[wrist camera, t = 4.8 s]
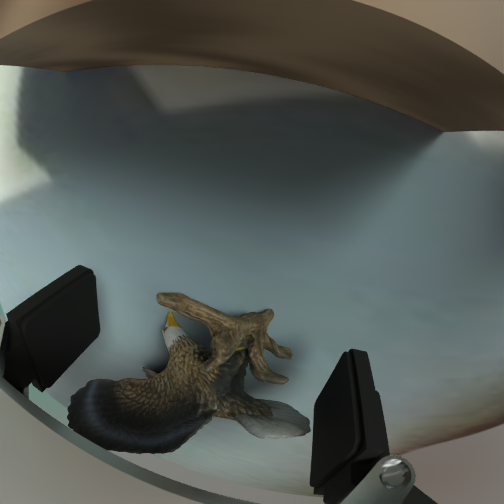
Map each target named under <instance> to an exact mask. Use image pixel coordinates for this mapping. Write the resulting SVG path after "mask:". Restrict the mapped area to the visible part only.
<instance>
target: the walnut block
mask: <svg viewBox="0 0 504 504" xmlns="http://www.w3.org/2000/svg"><path fill="white" fill-rule="evenodd" d="M150 64H162V65H192V66H206V67H218V68H227V69H236V70H243V71H250V72H257V73H263V74H269V75H274V76H279V77H285V78H289V79H294V80H299V81H303V82H307V83H311V84H315V85H319V86H323V87H327V88H330V89H334V90H338V91H341V92H344V93H348V94H351V95H354V96H357V97H360V98H363V99H366V100H369V101H372V102H375V103H378V104H380V105H383V106H386V107H388V108H391V109H394V110H396V111H399V112H401V113H404V114H406V115H408V116H411V117H413V118H415V119H418V120H420V121H422V122H424V123H427V124H429V125H431V126H433V127H435V128H437V129H439V130H441V131H443V132H456V131H504V0H0V65H10V66H23V67H33V68H41V69H49V70H56V71H63V72H65V71H72V70H79V69H87V68H96V67H107V66H121V65H150Z"/></svg>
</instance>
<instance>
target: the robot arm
mask: <svg viewBox="0 0 504 504" xmlns="http://www.w3.org/2000/svg"><path fill="white" fill-rule="evenodd" d="M6 315H7V318H8V321H7V322H6V323H5V320H4V318H3V317H2V316H1V315H0V504H259V503H253V502H249V501H244V500H240V499H235V498H230V497H227V496H223V495H219V494H215V493H212V492H208V491H205V490H201V489H198V488H195V487H192V486H188V485H186V484H183V483H180V482H177V481H174V480H172V479H169V478H166V477H164V476H161V475H159V474H156V473H154V472H152V471H149V470H147V469H145V468H142V467H140V466H138V465H136V464H133V463H131V462H129V461H127V460H125V459H123V458H121V457H119V456H117V455H115V454H113V453H111V452H109V451H107V450H105V449H103V448H102V447H100V446H98V445H96V444H94V443H93V442H91V441H89V440H87V439H86V438H84V437H82V436H81V435H79V434H78V433H76V432H74V431H73V430H71V429H70V428H68V427H67V426H65V425H63V424H62V423H60V422H59V421H57V420H56V419H54V418H53V417H52V416H50V415H49V414H47V413H46V412H45V411H43V410H42V409H41V408H39V407H38V406H37V405H35V404H34V403H33V402H32V401H30V400H29V396H28V395H29V384H30V383H31V382H32V384H33V386H34V387H36V388H37V389H38V390H40V391H41V392H43V391H44V390H45V389H46V388H49V387H51V386H52V385H53V384H54V383H55V382H56V381H57V379H58V378H59V377H60V376H61V375H62V374H63V373H64V372H65V371H66V370H67V369H68V368H69V366H70V365H71V364H72V363H73V362H74V361H75V360H76V359H77V358H78V357H79V356H80V355H81V354H82V353H83V352H84V351H85V350H86V348H87V347H88V346H89V345H90V344H91V343H92V342H93V341H94V340H95V339H96V338H97V337H98V335H99V333H100V323H99V313H98V303H97V289H96V277H95V275H94V273H93V271H92V270H91V269H89V268H86V267H84V266H82V265H78V266H76V267H75V268H73V269H71V270H70V271H68V272H67V273H65V274H64V275H62V276H61V277H59V278H57V279H56V280H54V281H53V282H51V283H50V284H48V285H47V286H45V287H44V288H42V289H41V290H40V291H38V292H37V293H35V294H34V295H32V296H31V297H29V298H28V299H27V300H25V301H24V302H22V303H21V304H19V305H18V306H17V307H15V308H14V309H13V310H11V311H10V312H8V313H7V314H6ZM415 477H416V474H415V470H414V468H413V466H412V464H411V463H410V462H409V461H408V460H407V459H405V458H403V457H401V456H397V455H390V453H389V446H388V439H387V433H386V427H385V421H384V415H383V410H382V405H381V399H380V395H379V393H378V392H377V391H375V386H374V381H373V376H372V371H371V367H370V362H369V358H368V354H367V352H366V351H361V350H356V349H350V350H349V351H348V352H344V353H343V354H342V356H341V358H340V360H339V361H338V363H337V365H336V367H335V369H334V370H333V372H332V374H331V376H330V378H329V379H328V381H327V383H326V385H325V386H324V388H323V390H322V391H321V393H320V395H319V396H318V398H317V400H316V402H315V405H314V422H313V443H312V459H311V473H310V486H311V487H314V494H318V495H324V499H323V501H324V504H437V503H436V502H435V501H433V500H432V499H431V498H430V497H428V496H427V495H425V494H424V493H423V492H422V491H421V490H419V489H418V488H417V487H416V486H414V483H415Z"/></svg>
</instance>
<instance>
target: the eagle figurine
mask: <svg viewBox="0 0 504 504" xmlns="http://www.w3.org/2000/svg"><path fill="white" fill-rule="evenodd" d="M157 302H158V303H159V304H160V305H163V306H166V307H169V308H171V309H173V310H175V311H176V312H178V313H179V314H181V315H183V316H186V317H188V318H190V319H193V320H197V321H199V322H202V323H204V324H205V325H206V326H207V327H208V329H209V331H210V334H211V336H212V338H213V339H212V341H211V344H210V349H211V353H210V352H209V351H208V350H207V349H206V348H205V347H203V346H202V345H201V344H200V343H198V342H197V341H195V340H193V339H192V338H191V337H190V336H189V335H187V334H186V333H185V331H184V330H183V329H182V328H181V327H180V326H179V325H178V324H177V323H176V320H175V319H174V317H173V313H172V312H169V313H168V315H167V321H166V325H165V326H164V327H163V329H162V333H163V336H164V339H165V343H166V346H167V349H168V351H169V356H170V358H169V361H168V365H167V367H166V368H165V369H164V370H163V371H162V372H160V373H156V372H154V371H151V370H150V369H148V368H144V367H143V368H142V369H143V371H144V372H146V376H147V377H148V378H149V379H132V378H126V379H122V380H120V381H113V380H109V379H96V380H91V381H89V382H88V383H87V384H86V386H85V387H83V388H81V389H79V390H78V391H77V392H76V393H75V395H72V396H71V405H70V406H69V407H68V412H69V414H68V416H67V419H68V420H69V424H68V426H69V427H70V428H71V429H73V431H74V432H76V433H78V434H79V435H81V436H82V437H84V438H86V439H87V440H89V441H91V442H93V443H94V444H96V445H98V446H100V447H102V448H103V449H105V450H113V451H118V452H129V453H138V454H141V453H151V454H155V453H161V454H163V453H168V452H173V451H175V450H176V449H178V448H179V447H180V446H181V445H182V444H184V443H185V442H186V441H187V440H188V439H189V438H190V437H192V436H193V435H195V434H196V432H197V431H198V430H199V429H201V428H202V427H203V426H204V425H205V424H207V423H209V422H210V421H211V420H212V417H213V416H215V417H220V418H226V419H231V420H236V421H238V422H239V423H240V424H241V425H242V426H243V427H244V428H245V429H246V430H247V431H248V432H249V433H250V434H252V435H254V436H256V437H258V438H273V439H279V438H290V437H296V436H303V435H305V434H306V433H309V432H310V431H311V430H310V426H309V424H310V421H309V419H308V418H307V417H305V416H303V415H302V414H300V413H299V412H298V411H297V410H295V409H294V408H293V407H291V406H289V405H288V404H285V403H282V402H278V401H272V400H263V399H254V398H253V397H251V396H249V395H248V394H247V393H246V392H245V391H244V386H243V384H244V376H245V375H246V367H247V365H248V363H249V367H250V370H251V372H252V374H253V376H254V377H255V378H256V379H257V380H258V381H265V382H269V383H274V384H284V383H286V382H288V381H289V379H288V378H287V377H285V376H282V375H279V374H276V373H274V372H272V371H271V370H270V369H269V367H268V365H267V363H266V361H265V359H264V356H263V353H264V349H266V350H268V351H270V352H271V353H273V354H274V355H275V356H276V357H279V358H284V359H292V358H293V353H292V351H291V350H290V349H289V348H287V347H282V346H278V345H277V344H276V342H275V341H274V340H273V339H272V338H270V337H269V336H268V334H267V333H266V332H267V327H268V325H269V323H270V321H271V320H272V319H273V317H274V312H273V310H272V309H268V310H266V311H264V312H262V313H255V312H250V313H248V314H242V315H241V316H240V317H237V316H232V317H231V316H229V315H227V314H225V313H222V312H220V311H218V310H216V309H214V308H211V307H209V306H207V305H205V304H203V303H201V302H199V301H196V300H194V299H191V298H189V297H188V296H186V295H184V294H181V293H158V294H157Z"/></svg>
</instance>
